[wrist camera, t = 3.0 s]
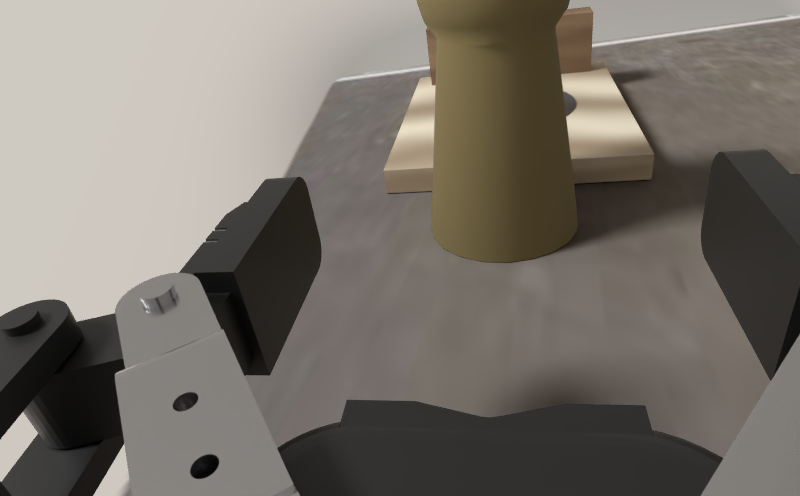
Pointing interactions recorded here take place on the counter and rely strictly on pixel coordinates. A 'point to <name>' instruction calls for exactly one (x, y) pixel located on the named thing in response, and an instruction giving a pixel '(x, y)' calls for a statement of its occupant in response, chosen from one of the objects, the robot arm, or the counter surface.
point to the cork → (500, 130)
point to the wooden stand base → (585, 112)
